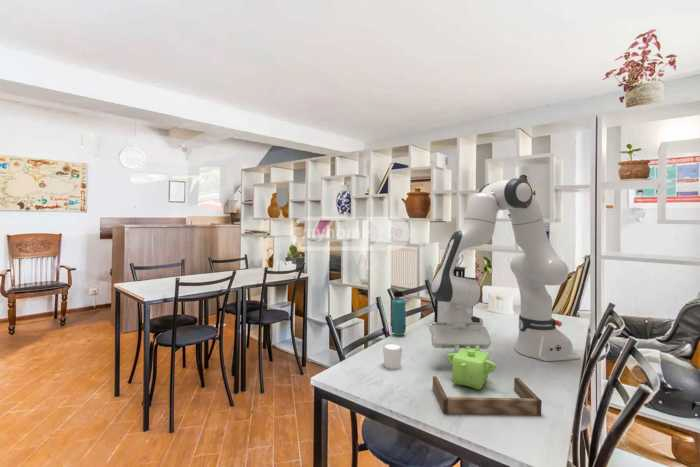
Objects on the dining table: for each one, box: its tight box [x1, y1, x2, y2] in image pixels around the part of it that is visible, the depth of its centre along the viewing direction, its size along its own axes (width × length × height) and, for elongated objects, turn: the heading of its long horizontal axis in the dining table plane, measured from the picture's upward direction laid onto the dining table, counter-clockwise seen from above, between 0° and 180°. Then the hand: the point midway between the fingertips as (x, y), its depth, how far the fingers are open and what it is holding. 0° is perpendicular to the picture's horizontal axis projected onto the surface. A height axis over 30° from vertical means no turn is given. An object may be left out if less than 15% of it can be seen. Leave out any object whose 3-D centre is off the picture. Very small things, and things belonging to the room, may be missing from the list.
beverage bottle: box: [390, 290, 407, 335], centre depth 162 cm, size 6×7×20 cm
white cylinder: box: [382, 343, 403, 370], centre depth 129 cm, size 7×7×7 cm
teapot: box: [446, 345, 497, 391], centre depth 116 cm, size 15×13×11 cm
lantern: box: [433, 255, 478, 323], centre depth 176 cm, size 17×17×35 cm
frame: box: [432, 375, 543, 416], centre depth 105 cm, size 26×14×4 cm, turn 89°
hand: (464, 359), depth 123 cm, fingers closed
